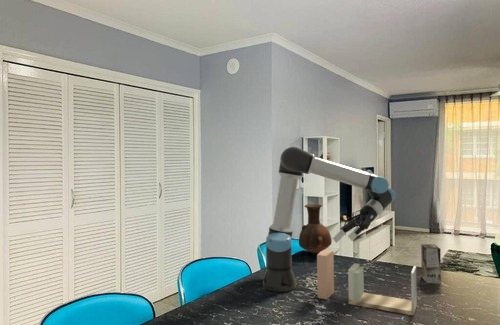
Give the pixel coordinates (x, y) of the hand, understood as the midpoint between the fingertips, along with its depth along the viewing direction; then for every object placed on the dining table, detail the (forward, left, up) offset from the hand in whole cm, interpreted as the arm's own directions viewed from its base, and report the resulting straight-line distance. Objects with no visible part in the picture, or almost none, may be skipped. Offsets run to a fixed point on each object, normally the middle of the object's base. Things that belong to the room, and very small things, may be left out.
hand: (342, 239), depth 164 cm
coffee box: (+34, +28, -22) cm, 49 cm away
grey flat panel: (+31, -12, -20) cm, 39 cm away
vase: (-31, +50, -22) cm, 62 cm away
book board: (+19, -12, -22) cm, 31 cm away
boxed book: (-4, -12, -22) cm, 25 cm away
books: (+9, -12, -20) cm, 25 cm away
